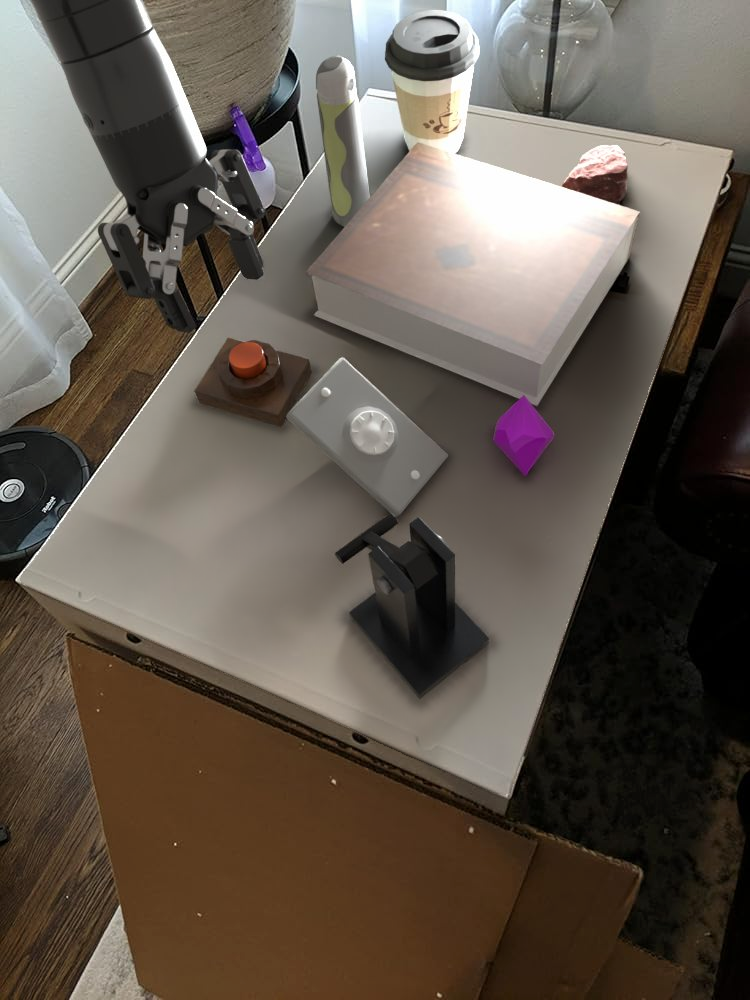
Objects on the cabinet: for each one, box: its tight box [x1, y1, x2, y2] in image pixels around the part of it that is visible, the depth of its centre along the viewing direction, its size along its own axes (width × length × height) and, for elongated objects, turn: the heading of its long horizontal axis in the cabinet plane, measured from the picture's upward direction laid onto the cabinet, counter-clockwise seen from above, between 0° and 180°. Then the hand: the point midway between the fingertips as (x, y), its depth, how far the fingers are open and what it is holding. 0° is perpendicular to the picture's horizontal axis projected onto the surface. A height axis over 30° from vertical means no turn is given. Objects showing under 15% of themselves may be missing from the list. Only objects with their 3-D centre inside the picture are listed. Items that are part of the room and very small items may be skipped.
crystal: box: [493, 395, 555, 477], centre depth 85 cm, size 5×5×5 cm
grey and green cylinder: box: [315, 55, 371, 227], centre depth 98 cm, size 5×5×20 cm
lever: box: [334, 512, 438, 590], centre depth 69 cm, size 10×6×2 cm
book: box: [305, 142, 641, 407], centre depth 96 cm, size 24×28×6 cm
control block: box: [193, 337, 313, 428], centre depth 92 cm, size 8×10×4 cm
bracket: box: [348, 516, 490, 700], centre depth 71 cm, size 10×8×15 cm
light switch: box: [286, 356, 449, 517], centre depth 85 cm, size 8×6×14 cm
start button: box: [229, 341, 266, 379], centre depth 89 cm, size 4×4×2 cm
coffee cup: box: [384, 9, 481, 154], centre depth 106 cm, size 11×11×15 cm
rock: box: [561, 144, 629, 205], centre depth 103 cm, size 11×6×8 cm
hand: (221, 302), depth 73 cm, fingers open, 8 cm apart
